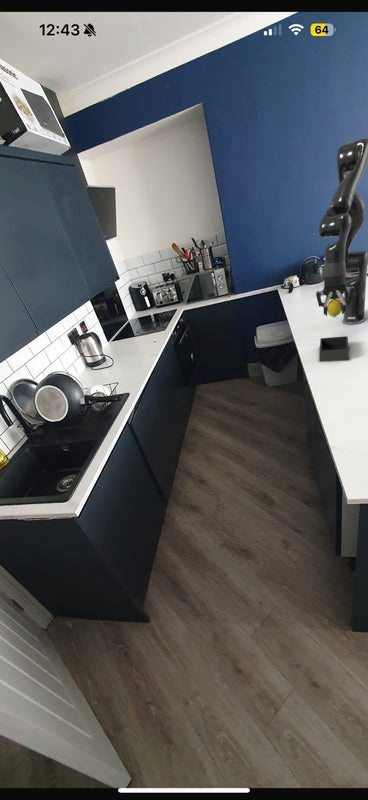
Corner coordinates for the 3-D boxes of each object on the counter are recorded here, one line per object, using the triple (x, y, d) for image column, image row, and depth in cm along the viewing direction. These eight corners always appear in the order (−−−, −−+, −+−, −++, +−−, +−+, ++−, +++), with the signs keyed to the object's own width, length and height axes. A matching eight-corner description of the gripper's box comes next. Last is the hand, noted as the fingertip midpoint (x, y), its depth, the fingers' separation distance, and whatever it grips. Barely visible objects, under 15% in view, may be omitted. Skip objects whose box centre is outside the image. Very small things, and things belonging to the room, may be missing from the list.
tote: (320, 347, 143) (320, 338, 140) (347, 346, 138) (347, 336, 136) (319, 361, 133) (319, 351, 131) (348, 360, 128) (348, 349, 126)
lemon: (342, 314, 130) (343, 295, 126) (340, 319, 126) (340, 300, 122) (328, 315, 133) (328, 296, 129) (326, 320, 129) (325, 301, 125)
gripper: (355, 266, 120) (353, 308, 129) (314, 273, 126) (316, 313, 135) (356, 271, 114) (354, 315, 123) (314, 278, 121) (315, 319, 129)
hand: (334, 314), depth 129 cm, fingers closed on lemon, 5 cm apart
